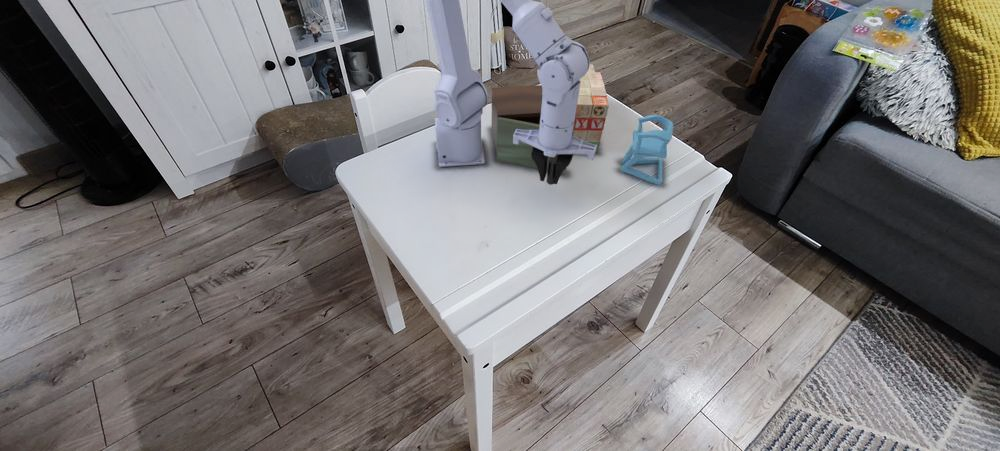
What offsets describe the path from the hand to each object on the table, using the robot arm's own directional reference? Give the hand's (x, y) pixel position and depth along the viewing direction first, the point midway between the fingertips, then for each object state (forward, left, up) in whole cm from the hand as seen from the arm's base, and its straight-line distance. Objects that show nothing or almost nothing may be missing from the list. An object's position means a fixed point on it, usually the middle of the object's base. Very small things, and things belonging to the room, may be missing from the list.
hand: (549, 179), depth 86 cm
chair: (+21, +5, -4) cm, 22 cm away
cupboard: (-1, +17, -4) cm, 18 cm away
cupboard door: (-3, +5, -4) cm, 7 cm away
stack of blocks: (+12, +22, -4) cm, 25 cm away
